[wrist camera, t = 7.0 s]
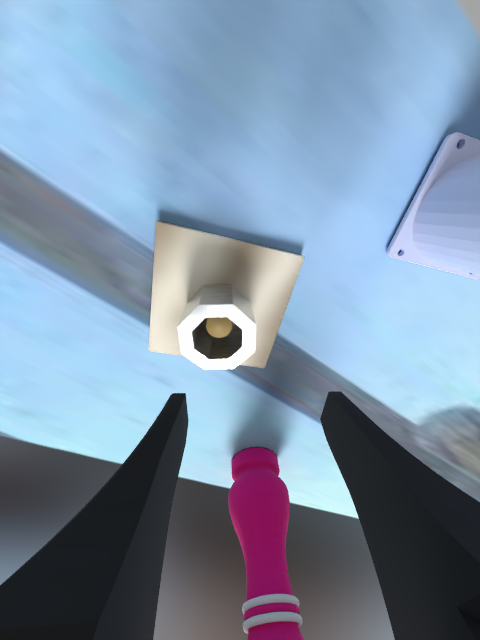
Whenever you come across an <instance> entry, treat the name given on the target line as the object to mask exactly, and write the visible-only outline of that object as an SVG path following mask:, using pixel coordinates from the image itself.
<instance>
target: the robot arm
mask: <svg viewBox="0 0 480 640" xmlns="http://www.w3.org/2000/svg"><path fill="white" fill-rule="evenodd" d="M458 142H459V147H458V148H457V143H458ZM399 250H401V253H400V254H398V252H399ZM386 254H387V256H389V257H392V258H396V259H400V260H404V261H407V262H411V263H415V264H419V265H423V266H427V267H431V268H435V269H438V270H442V271H446V272H450V273H454V274H458V275H462V276H466V277H469V278H473V279H477V280H480V140H478V139H475V138H473V137H470V136H468V135H465V134H462V133H460V132H455V133H452V134H449V135H448V136H447V137H446V138H445V139H444V141H443V143H442V145H441V146H440V148H439V150H438V152H437V154H436V156H435V158H434V160H433V162H432V164H431V166H430V168H429V170H428V171H427V173H426V175H425V177H424V179H423V181H422V183H421V185H420V187H419V189H418V191H417V193H416V195H415V197H414V198H413V200H412V202H411V204H410V206H409V208H408V210H407V212H406V214H405V216H404V218H403V220H402V222H401V223H400V225H399V227H398V229H397V231H396V233H395V235H394V237H393V239H392V241H391V243H390V245H389V247H388V249H387V251H386ZM320 420H321V423H322V426H323V430H324V433H325V436H326V439H327V442H328V444H329V446H330V449H331V451H332V453H333V456H334V458H335V460H336V462H337V465H338V467H339V469H340V472H341V474H342V476H343V478H344V481H345V483H346V485H347V487H348V490H349V492H350V495H351V497H352V500H353V502H354V505H355V508H356V511H357V514H358V517H359V520H360V522H361V525H362V528H363V531H364V535H365V538H366V541H367V544H368V547H369V550H370V553H371V556H372V560H373V563H374V566H375V570H376V573H377V576H378V579H379V583H380V586H381V590H382V593H383V597H384V600H385V604H386V608H387V611H388V615H389V619H390V622H391V626H392V630H393V634H394V638H395V640H480V502H478V501H477V500H475V499H474V498H472V497H471V496H469V495H468V494H466V493H465V492H463V491H462V490H460V489H459V488H457V487H456V486H454V485H453V484H451V483H450V482H448V481H447V480H445V479H444V478H443V477H441V476H440V475H438V474H437V473H436V472H434V471H433V470H431V469H430V468H429V467H427V466H426V465H425V464H423V463H422V462H421V461H420V460H418V459H417V458H416V457H414V456H413V455H412V454H410V453H409V452H408V451H407V450H405V449H404V448H403V447H402V446H401V445H399V444H398V443H397V442H396V441H395V440H393V439H392V438H391V437H390V436H389V435H387V434H386V433H385V432H384V431H383V430H382V429H381V428H379V427H378V426H377V425H376V424H375V423H374V422H373V421H372V420H371V419H369V418H368V417H367V416H366V415H365V414H364V413H363V412H362V411H361V410H360V409H359V408H358V407H357V406H356V405H354V404H353V403H352V402H351V401H350V400H349V399H348V398H347V397H346V396H345V395H344V394H343V393H341V392H329V393H328V396H327V399H326V402H325V406H324V409H323V412H322V415H321V418H320ZM187 428H188V414H187V404H186V394H185V393H173V394H172V395H170V397H169V399H168V401H167V403H166V404H165V406H164V408H163V409H162V411H161V412H160V414H159V415H158V417H157V419H156V420H155V422H154V423H153V424H152V426H151V427H150V429H149V430H148V432H147V433H146V435H145V436H144V437H143V439H142V440H141V441H140V443H139V444H138V445H137V447H136V448H135V449H134V451H133V452H132V453H131V455H130V456H129V457H128V458H127V459H126V461H125V462H124V463H123V464H122V466H121V467H120V468H119V469H118V470H117V472H116V473H115V474H114V475H113V476H112V477H111V478H110V480H109V481H108V482H107V483H106V484H105V485H104V486H103V487H102V488H101V490H100V491H99V492H98V493H97V494H96V495H95V496H94V497H93V498H92V499H91V500H90V501H89V502H88V504H87V505H86V506H85V507H84V508H83V509H82V510H81V511H80V512H79V513H78V514H77V515H76V516H75V517H74V518H72V519H71V520H70V521H69V523H68V524H66V525H65V526H64V527H63V528H62V529H61V530H60V531H59V532H58V533H57V534H56V535H55V536H54V537H53V538H52V539H51V540H50V541H49V542H48V543H47V544H46V545H45V546H44V547H43V548H41V549H40V550H39V551H38V552H37V553H36V554H35V555H34V556H33V557H31V559H29V560H28V561H27V562H26V563H25V564H24V565H23V566H22V567H20V568H19V569H18V570H17V571H16V572H15V573H14V574H13V575H12V576H10V578H8V579H7V580H6V581H5V582H4V583H3V584H1V585H0V640H153V635H154V627H155V619H156V611H157V603H158V596H159V588H160V580H161V573H162V566H163V558H164V552H165V544H166V538H167V531H168V524H169V518H170V512H171V506H172V501H173V496H174V491H175V487H176V483H177V479H178V474H179V470H180V466H181V461H182V457H183V453H184V448H185V444H186V436H187Z"/></svg>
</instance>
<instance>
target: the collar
mask: <svg viewBox="0 0 480 640" xmlns="http://www.w3.org/2000/svg"><path fill="white" fill-rule="evenodd" d="M212 317H228V318H229V319H230V320H231V321H233V322H234V323H235V325H234V326H233V327H232V329H231V331H230V333H229V334H228V335H227V336H225V337H221V338H217V337H213V336H212V335H210V334H209V333H208V331H207V329H206V326H204V325H203V324H202V323H201V322H202V321H203V320H204V319H205V318H212ZM177 328H178V335H179V342H180V348H181V354H183V355H184V356H186V357H187V358H188V359H190V360H191V361H193V362H194V363H196V364H197V365H199V366H200V367H201V368H203V369H204V370H210V369H234V368H235V367H236V366H238V365H239V364H240V363H241V362H242V361H244V360H245V359H246V358H247V357H249V356H250V355H251V354H252V353H253V352H255V338H256V322H255V319H254V315H253V311H252V307H251V303H250V301H249V300H248V299H247V298H246V297H245V296H244V295H243V294H242V293H240V292H239V291H238V290H237V289H236V288H235V287H234V286H233V285H232V284H210V285H203V286H202V287H201V288H200V290H199V291H198V292H197V293H196V294H195V295H194V296H193V297H192V298H191V299H190V300H189V301H188V302H187V303H186V306H185V309H184V311H183V314H182V316H181V319H180V321H179V324H178V326H177Z"/></svg>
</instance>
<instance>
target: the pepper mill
mask: <svg viewBox="0 0 480 640" xmlns="http://www.w3.org/2000/svg"><path fill="white" fill-rule="evenodd" d="M278 475H279V465H278V460H277V457H276V455H275V454H274V453H273V452H272V451H270V450H269V449H266V448H259V447H255V448H248V449H245V450H243V451H241V452H239V453H237V454H236V455H235V456H234V458H233V460H232V478H233V480H234V481H235V482H234V483H233V485H232V487H231V489H230V491H229V496H228V497H229V498H228V500H229V511H230V515H231V519H232V522H233V525H234V528H235V530H236V533H237V535H238V538H239V541H240V543H241V547H242V550H243V554H244V559H245V563H246V576H247V602H245V603H244V605H243V607H242V611H243V614H244V620H245V622H244V623H243V630H244V632H246V633H247V634H248V640H304V639H303V637H302V635H301V633H300V630H299V627H300V626H301V625H302V617H301V616H300V615H299V614H300V612H299V608H298V607H299V600H298V599H297V598H296V597H295V596H293V593H292V589H291V585H290V581H289V577H288V570H287V563H286V535H287V528H288V520H289V513H290V509H289V508H290V507H289V506H290V503H289V495H288V490H287V487H286V485H285V483H284V482H283V481H282V480H281V479H280V478H279V477H278Z"/></svg>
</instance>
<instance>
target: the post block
mask: <svg viewBox="0 0 480 640" xmlns="http://www.w3.org/2000/svg"><path fill="white" fill-rule="evenodd" d="M304 258H305V257H303V256H302V255H299V254H294V253H290V252H286V251H282V250H278V249H274V248H270V247H266V246H261V245H257V244H253V243H249V242H245V241H241V240H237V239H232V238H228V237H224V236H220V235H216V234H212V233H208V232H203V231H199V230H195V229H191V228H187V227H183V226H179V225H174V224H170V223H166V222H162V221H157V222H156V234H155V251H154V268H153V285H152V302H151V319H150V336H149V351H153V352H159V353H166V354H173V355H179V356H184V355H183V354H181V348H180V342H179V335H178V328H177V326H178V324H179V321H180V319H181V316H182V314H183V311H184V309H185V306H186V303H187V302H188V301H189V300H190V299H191V298H192V297H193V296H194V295H195V294H196V293H197V292H198V291H199V290H200V288H201V287H202V286H203V285H210V284H232V285H233V286H234V287H235V288H236V289H237V290H238V291H239V292H240V293H242V294H243V295H244V296H245V297H246V298H247V299H248V300H249V301H250V303H251V307H252V311H253V315H254V319H255V322H256V338H255V352H253V353H252V354H251V355H250V356H249V357H247V358H246V359H245V360H244V361H242V362H241V363H240V364H239V365H246V366H253V367H259V368H265V365H266V363H267V360H268V357H269V354H270V352H271V349H272V346H273V343H274V341H275V338H276V335H277V332H278V329H279V327H280V324H281V321H282V318H283V316H284V313H285V310H286V307H287V305H288V302H289V299H290V296H291V293H292V291H293V288H294V285H295V282H296V280H297V277H298V274H299V271H300V269H301V266H302V263H303V260H304ZM201 323H202V324H203V325H204V326H206V329H207V331H208V333H209V334H210V335H212V336H213V337H217V338H221V337H225V336H227V335H228V334H229V333H230V331H231V329H232V327H233V326H234V325H235V323H234V322H233V321H231V320H230V319H229V318H228V317H212V318H205V319H204V320H203V321H202V322H201Z"/></svg>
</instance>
